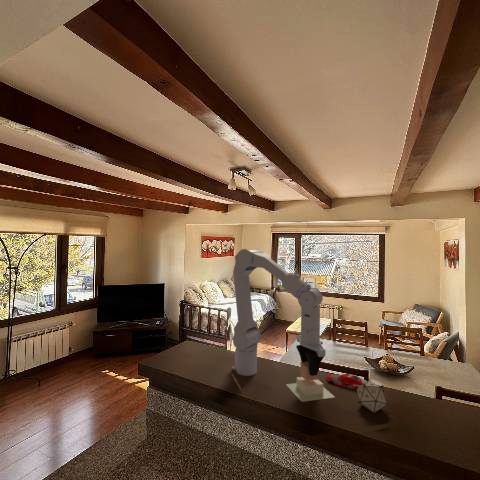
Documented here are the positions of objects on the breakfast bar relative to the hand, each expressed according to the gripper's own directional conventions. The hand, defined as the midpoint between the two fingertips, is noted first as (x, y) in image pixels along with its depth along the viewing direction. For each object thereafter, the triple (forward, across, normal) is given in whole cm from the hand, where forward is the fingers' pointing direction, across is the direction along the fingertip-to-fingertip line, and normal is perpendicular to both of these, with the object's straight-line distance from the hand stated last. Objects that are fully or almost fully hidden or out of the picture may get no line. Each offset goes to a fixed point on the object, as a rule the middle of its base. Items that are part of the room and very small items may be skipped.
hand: (309, 371), depth 93 cm
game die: (+7, -13, -12) cm, 19 cm away
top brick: (+2, 0, 0) cm, 2 cm away
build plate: (+6, 0, 0) cm, 6 cm away
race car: (+7, +1, -14) cm, 16 cm away
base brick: (+6, 0, 0) cm, 6 cm away
